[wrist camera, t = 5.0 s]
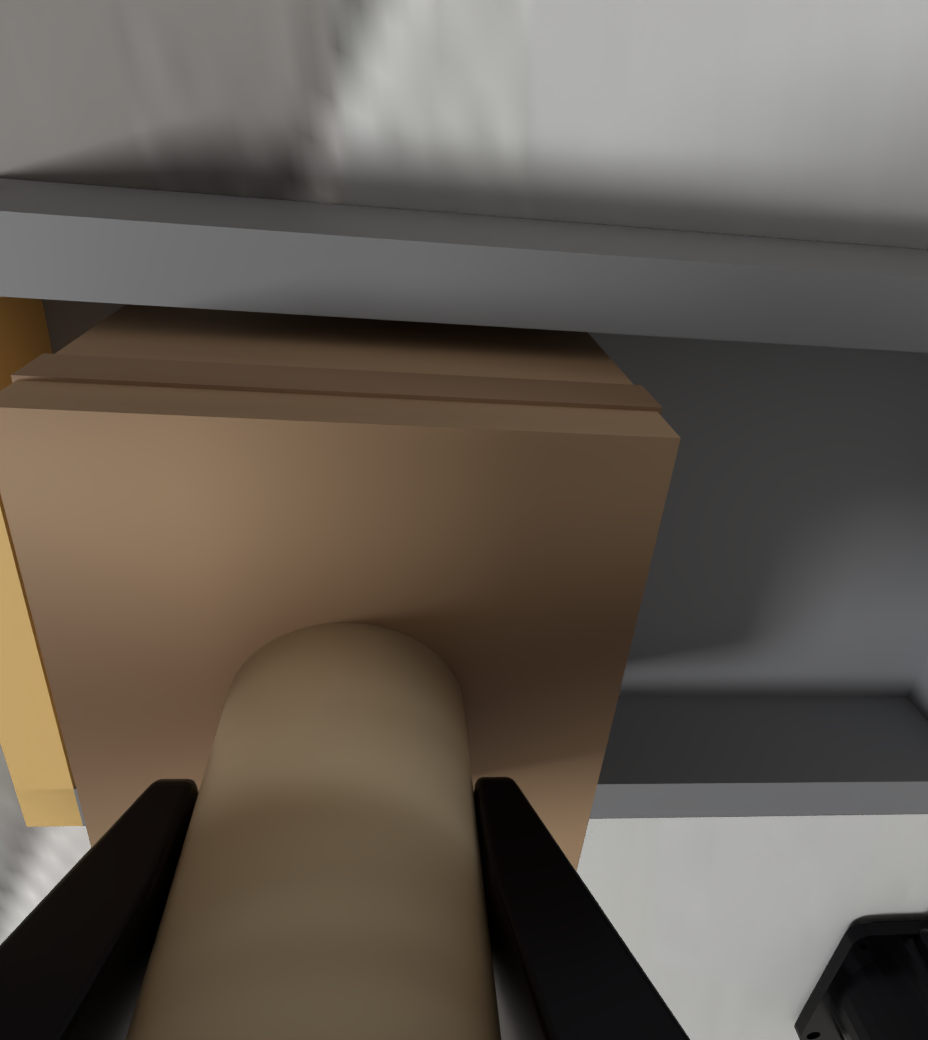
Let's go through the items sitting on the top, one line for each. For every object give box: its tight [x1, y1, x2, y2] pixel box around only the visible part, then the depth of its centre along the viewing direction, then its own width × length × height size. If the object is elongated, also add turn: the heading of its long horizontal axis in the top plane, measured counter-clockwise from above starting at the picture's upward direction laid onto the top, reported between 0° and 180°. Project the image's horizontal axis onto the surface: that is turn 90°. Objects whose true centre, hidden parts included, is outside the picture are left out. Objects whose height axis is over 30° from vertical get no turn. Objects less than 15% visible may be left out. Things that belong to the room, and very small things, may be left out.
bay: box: [0, 178, 928, 827], centre depth 14 cm, size 11×20×4 cm, turn 85°
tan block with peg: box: [0, 304, 681, 1040], centre depth 9 cm, size 8×7×10 cm
